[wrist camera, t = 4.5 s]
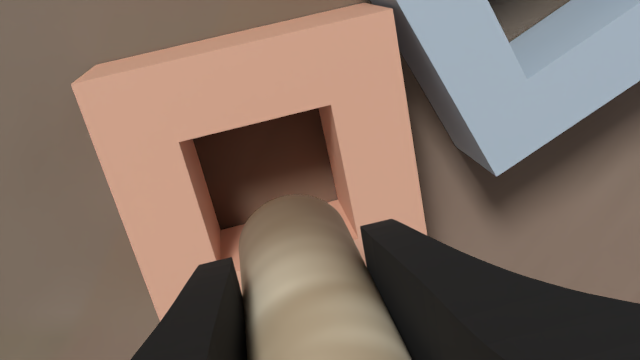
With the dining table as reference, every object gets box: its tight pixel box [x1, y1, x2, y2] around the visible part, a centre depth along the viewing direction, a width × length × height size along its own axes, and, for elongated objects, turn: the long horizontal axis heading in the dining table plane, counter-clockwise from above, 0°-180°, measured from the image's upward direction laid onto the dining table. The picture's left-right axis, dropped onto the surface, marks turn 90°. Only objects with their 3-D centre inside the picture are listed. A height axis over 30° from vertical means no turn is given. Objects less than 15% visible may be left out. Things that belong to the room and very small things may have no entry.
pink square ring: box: [71, 3, 427, 321], centre depth 17 cm, size 8×8×3 cm
